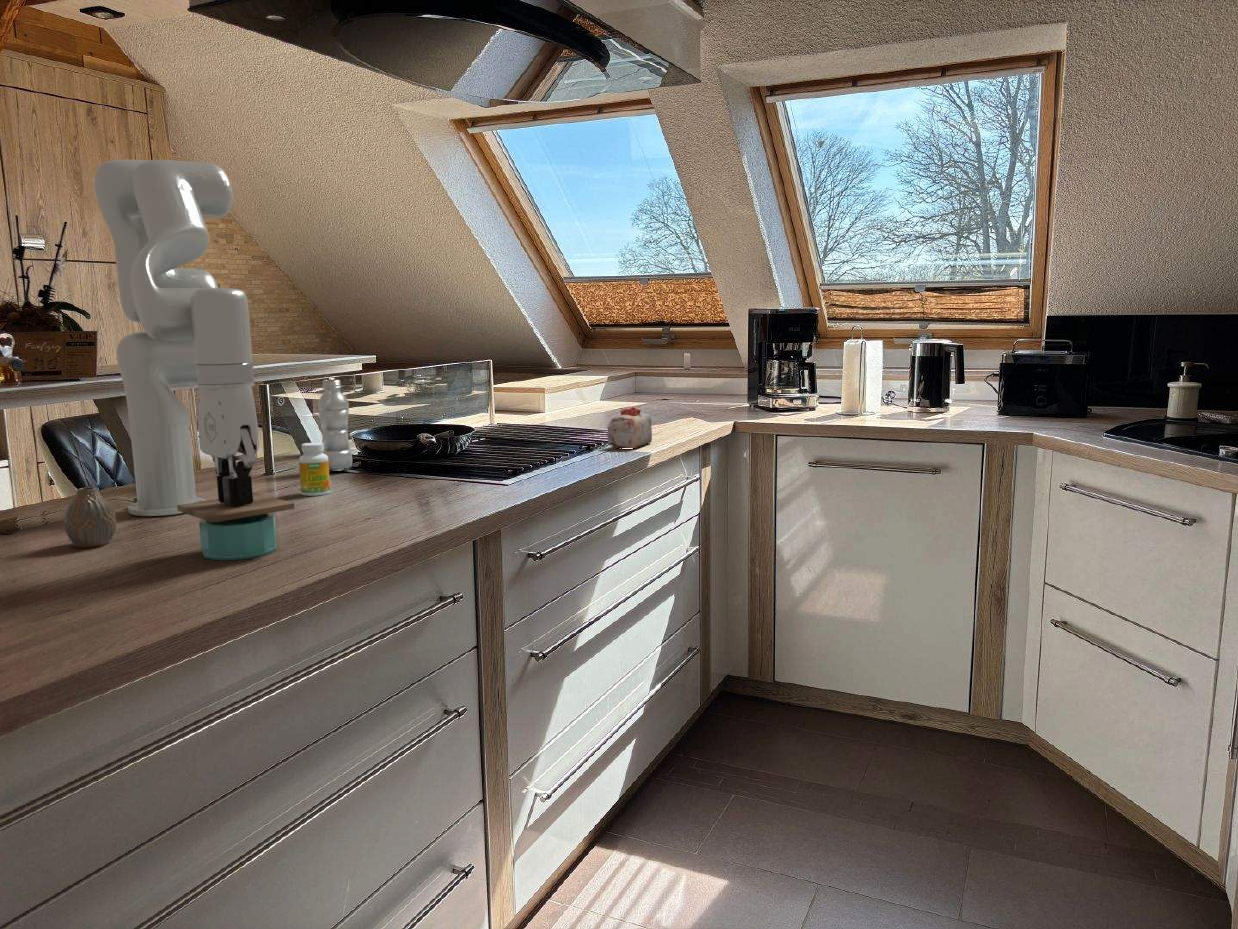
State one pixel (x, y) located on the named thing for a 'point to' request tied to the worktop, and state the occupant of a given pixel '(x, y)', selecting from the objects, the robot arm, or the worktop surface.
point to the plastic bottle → (335, 425)
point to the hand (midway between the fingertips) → (235, 501)
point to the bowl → (238, 537)
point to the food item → (630, 429)
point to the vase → (89, 519)
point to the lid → (234, 507)
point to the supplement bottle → (314, 470)
